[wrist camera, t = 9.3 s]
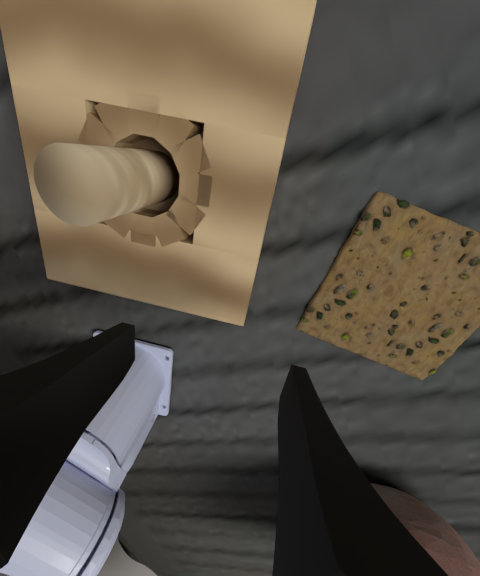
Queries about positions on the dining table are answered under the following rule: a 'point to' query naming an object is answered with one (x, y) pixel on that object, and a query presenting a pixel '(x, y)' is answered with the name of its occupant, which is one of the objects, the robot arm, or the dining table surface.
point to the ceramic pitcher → (431, 532)
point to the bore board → (162, 134)
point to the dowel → (102, 181)
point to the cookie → (400, 288)
